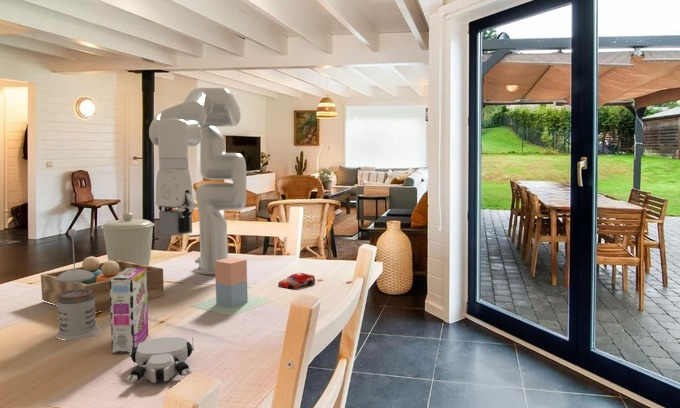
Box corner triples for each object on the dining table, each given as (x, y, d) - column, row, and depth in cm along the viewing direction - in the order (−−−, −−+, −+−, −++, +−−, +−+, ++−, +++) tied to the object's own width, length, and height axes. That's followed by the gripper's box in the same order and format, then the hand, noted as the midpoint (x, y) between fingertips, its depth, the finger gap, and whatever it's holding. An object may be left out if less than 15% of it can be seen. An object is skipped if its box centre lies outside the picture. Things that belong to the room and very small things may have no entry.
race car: (284, 292, 159) (284, 279, 159) (274, 288, 163) (274, 276, 163) (318, 284, 168) (317, 272, 167) (307, 281, 172) (307, 269, 171)
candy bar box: (135, 353, 110) (132, 278, 108) (111, 354, 110) (107, 278, 108) (150, 335, 121) (147, 266, 119) (128, 335, 121) (125, 267, 119)
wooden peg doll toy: (156, 293, 157) (154, 253, 156) (111, 309, 141) (109, 264, 140) (111, 287, 164) (109, 249, 163) (64, 302, 148) (61, 259, 147)
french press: (52, 342, 116) (45, 233, 114) (57, 327, 127) (51, 226, 124) (100, 336, 120) (94, 230, 118) (101, 321, 131) (96, 224, 128)
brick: (215, 282, 141) (214, 261, 140) (231, 278, 146) (231, 257, 145) (231, 285, 138) (230, 263, 137) (247, 281, 143) (246, 259, 142)
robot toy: (194, 387, 96) (193, 352, 110) (194, 365, 95) (193, 332, 110) (124, 396, 93) (132, 358, 107) (122, 373, 92) (131, 338, 106)
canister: (150, 262, 201) (148, 208, 199) (161, 271, 186) (158, 213, 184) (100, 267, 192) (97, 211, 190) (106, 277, 176) (103, 216, 174)
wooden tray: (42, 302, 148) (40, 274, 147) (118, 284, 168) (117, 259, 167) (87, 315, 135) (86, 286, 135) (164, 294, 155) (163, 268, 154)
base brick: (216, 304, 141) (215, 282, 141) (232, 298, 146) (231, 278, 146) (231, 307, 138) (231, 285, 138) (247, 302, 143) (247, 281, 143)
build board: (189, 310, 140) (189, 305, 140) (232, 296, 153) (232, 292, 153) (232, 320, 131) (231, 315, 131) (273, 304, 145) (273, 300, 145)
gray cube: (159, 233, 140) (159, 211, 139) (177, 230, 145) (177, 209, 144) (174, 235, 137) (173, 213, 136) (192, 232, 142) (191, 210, 141)
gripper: (141, 164, 141) (144, 230, 143) (183, 165, 131) (186, 235, 133) (164, 164, 147) (167, 226, 149) (206, 165, 137) (208, 232, 139)
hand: (176, 230), depth 141 cm, fingers closed on gray cube, 6 cm apart
